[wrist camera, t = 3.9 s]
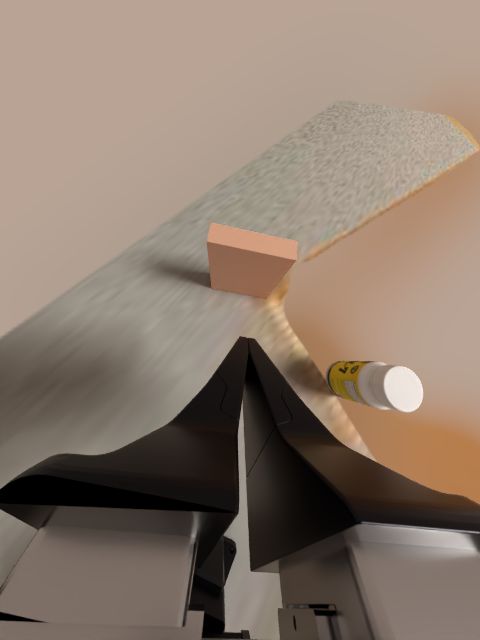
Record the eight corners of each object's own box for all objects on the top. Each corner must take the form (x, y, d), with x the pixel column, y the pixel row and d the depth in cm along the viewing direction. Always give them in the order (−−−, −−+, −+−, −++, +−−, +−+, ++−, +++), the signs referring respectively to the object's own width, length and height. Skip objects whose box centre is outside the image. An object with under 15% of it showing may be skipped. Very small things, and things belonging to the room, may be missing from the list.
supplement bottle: (347, 356, 24) (411, 354, 16) (362, 389, 24) (437, 404, 16) (318, 368, 24) (371, 372, 15) (333, 402, 23) (397, 426, 15)
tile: (266, 298, 25) (296, 260, 15) (211, 288, 24) (206, 241, 15) (268, 284, 26) (298, 238, 16) (214, 273, 25) (211, 219, 15)
